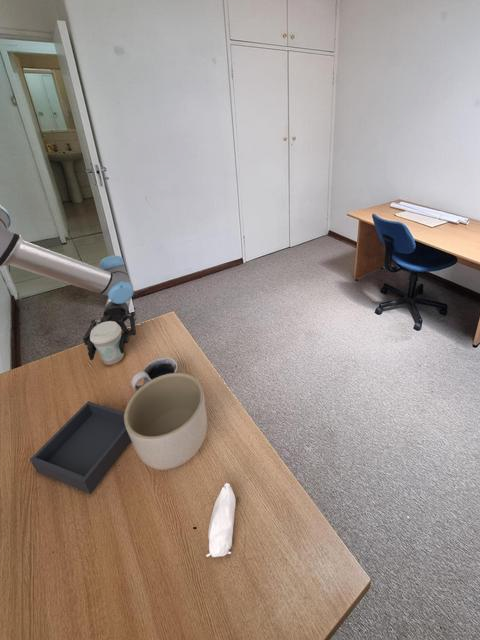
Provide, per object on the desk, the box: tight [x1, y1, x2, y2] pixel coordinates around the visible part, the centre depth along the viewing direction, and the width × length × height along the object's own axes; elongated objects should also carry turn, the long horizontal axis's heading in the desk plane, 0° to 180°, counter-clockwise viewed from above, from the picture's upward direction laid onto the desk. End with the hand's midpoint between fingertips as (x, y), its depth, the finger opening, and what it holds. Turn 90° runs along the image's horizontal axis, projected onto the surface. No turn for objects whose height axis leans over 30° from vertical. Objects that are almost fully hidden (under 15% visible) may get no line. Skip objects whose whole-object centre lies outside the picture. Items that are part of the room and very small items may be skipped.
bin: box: [29, 400, 132, 495], centre depth 79 cm, size 16×16×5 cm
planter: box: [124, 372, 208, 471], centre depth 78 cm, size 17×17×15 cm
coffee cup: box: [90, 321, 125, 366], centre depth 103 cm, size 8×8×12 cm
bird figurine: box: [205, 482, 237, 558], centre depth 65 cm, size 5×7×10 cm
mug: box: [130, 357, 179, 392], centre depth 93 cm, size 10×12×10 cm
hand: (106, 353), depth 98 cm, fingers closed on coffee cup, 8 cm apart
